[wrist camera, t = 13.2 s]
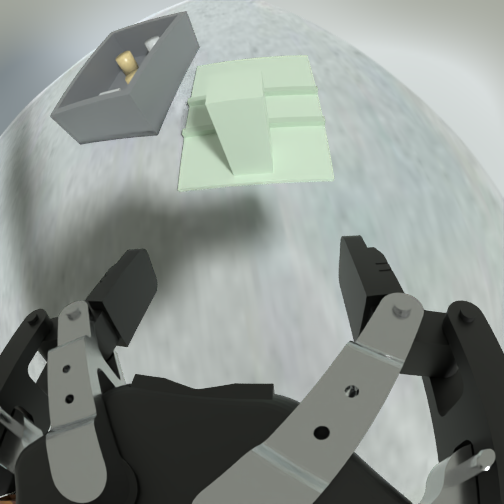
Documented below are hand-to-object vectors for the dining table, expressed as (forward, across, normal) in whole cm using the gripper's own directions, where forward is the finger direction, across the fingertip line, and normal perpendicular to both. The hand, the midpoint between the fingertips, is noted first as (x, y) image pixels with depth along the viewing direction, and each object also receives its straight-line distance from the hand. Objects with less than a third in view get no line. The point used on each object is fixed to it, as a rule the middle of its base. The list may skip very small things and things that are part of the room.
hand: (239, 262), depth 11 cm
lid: (+17, 0, -5) cm, 18 cm away
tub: (+21, +13, -11) cm, 27 cm away
